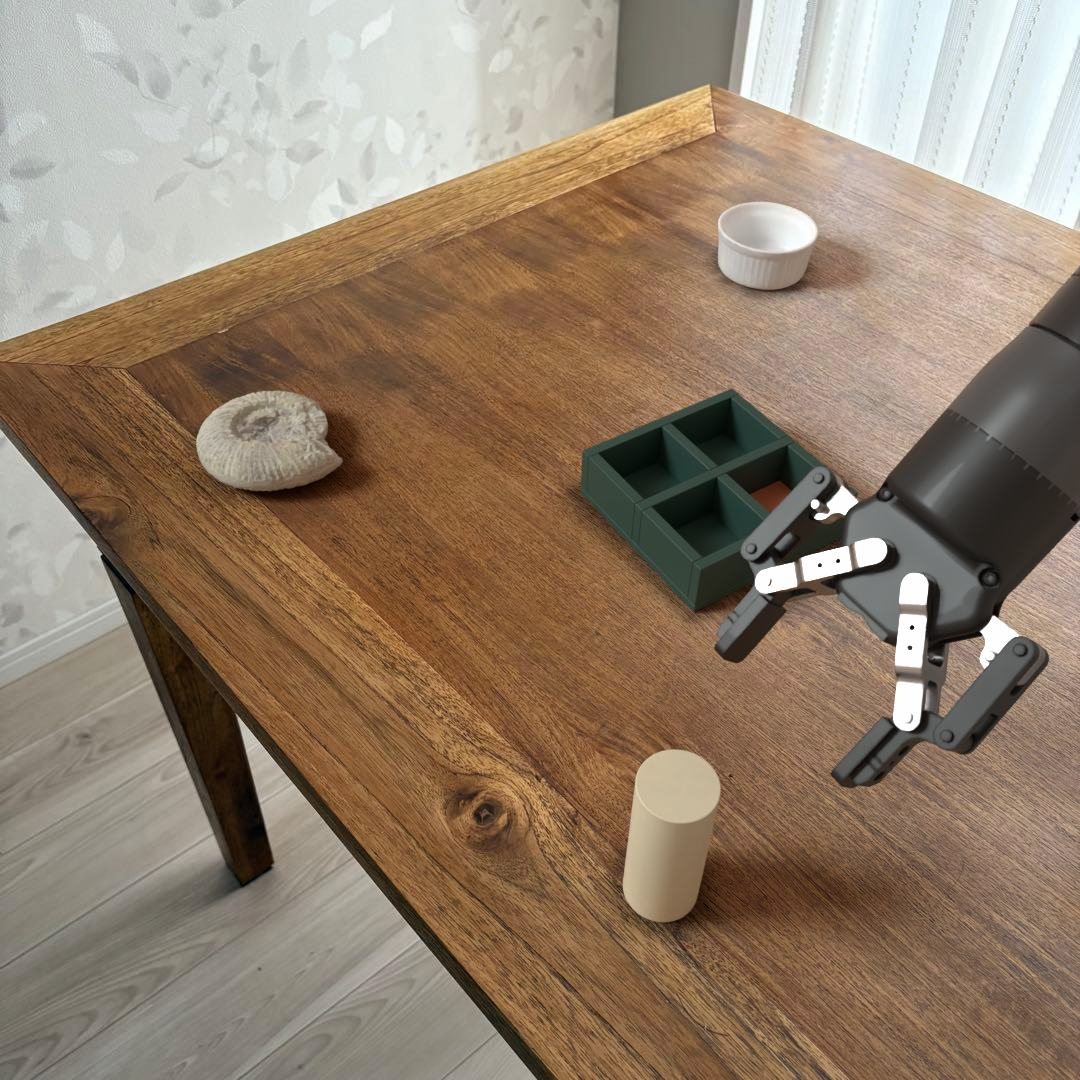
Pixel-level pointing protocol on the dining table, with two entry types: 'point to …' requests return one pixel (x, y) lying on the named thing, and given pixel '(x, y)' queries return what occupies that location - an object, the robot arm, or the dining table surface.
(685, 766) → the cylinder
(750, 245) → the ramekin
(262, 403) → the fossil
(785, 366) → the dining table surface
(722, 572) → the grid
